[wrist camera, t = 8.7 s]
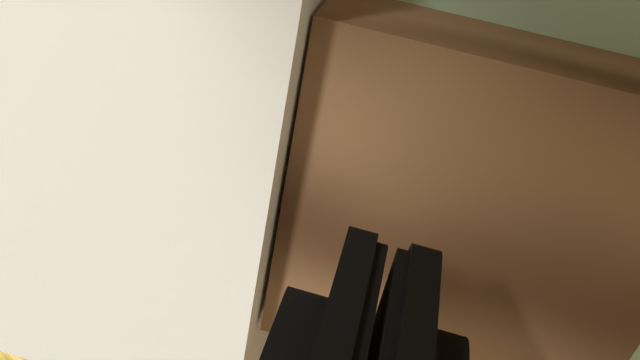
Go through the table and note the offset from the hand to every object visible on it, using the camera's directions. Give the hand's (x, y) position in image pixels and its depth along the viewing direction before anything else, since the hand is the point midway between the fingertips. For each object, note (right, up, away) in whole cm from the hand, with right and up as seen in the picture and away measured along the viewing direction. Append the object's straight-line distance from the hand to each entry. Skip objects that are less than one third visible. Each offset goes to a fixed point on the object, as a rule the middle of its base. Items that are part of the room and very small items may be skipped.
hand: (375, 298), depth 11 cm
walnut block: (+3, +2, +5) cm, 6 cm away
